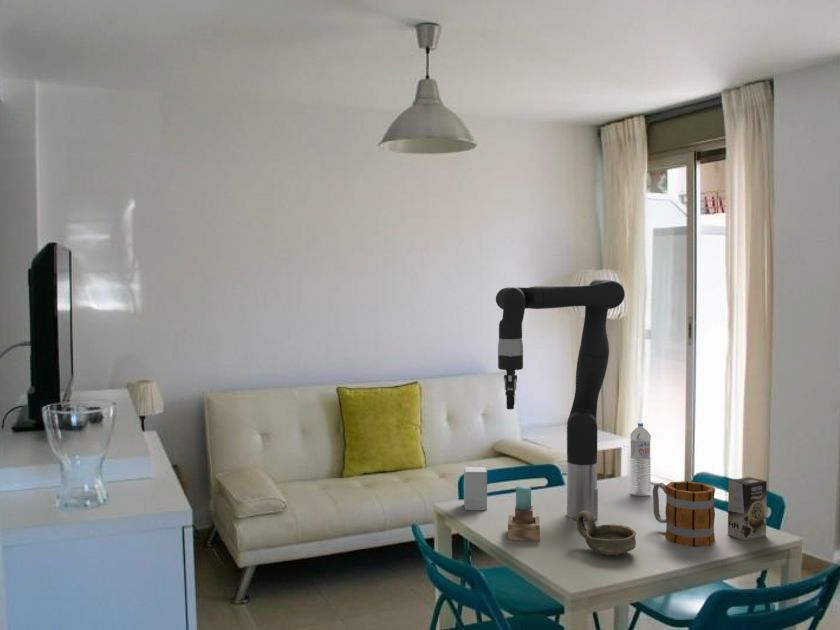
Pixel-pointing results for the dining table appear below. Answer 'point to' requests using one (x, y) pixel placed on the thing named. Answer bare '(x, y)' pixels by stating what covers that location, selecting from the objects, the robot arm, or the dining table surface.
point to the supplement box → (475, 488)
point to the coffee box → (747, 508)
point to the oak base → (524, 529)
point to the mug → (687, 512)
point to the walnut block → (524, 516)
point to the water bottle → (640, 462)
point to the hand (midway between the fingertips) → (510, 407)
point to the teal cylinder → (523, 497)
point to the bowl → (606, 536)
